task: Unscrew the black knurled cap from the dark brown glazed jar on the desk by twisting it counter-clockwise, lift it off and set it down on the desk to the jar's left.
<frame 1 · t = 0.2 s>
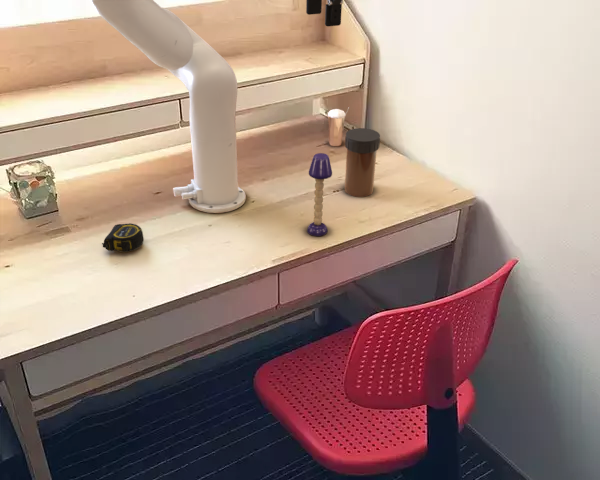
hand: (323, 19, 137), 37 cm above the table, tool pointing down, fingers open, 9 cm apart
milkshake: (336, 144, 178), on the table
cap: (362, 136, 149), point 13 cm above the table, screwed on, not yet turned
tape measure: (123, 247, 135), on the table
toy lamp: (318, 231, 141), on the table
jar: (358, 190, 157), on the table
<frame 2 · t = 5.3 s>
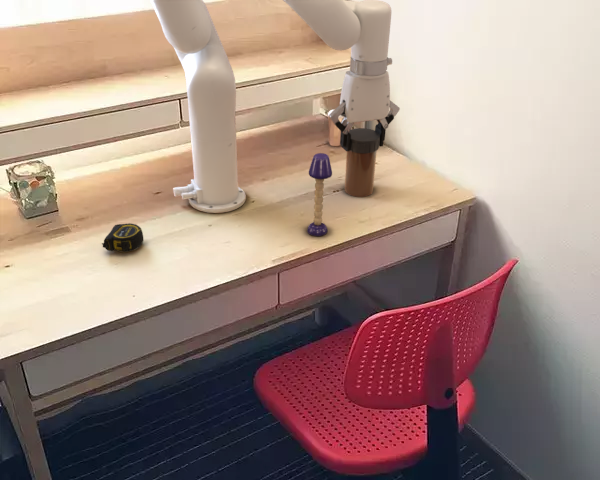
hand: (362, 146, 150), 11 cm above the table, tool pointing down, fingers closed on cap, 7 cm apart
cap: (362, 136, 149), point 13 cm above the table, screwed on, not yet turned, touching gripper
everything else where it was.
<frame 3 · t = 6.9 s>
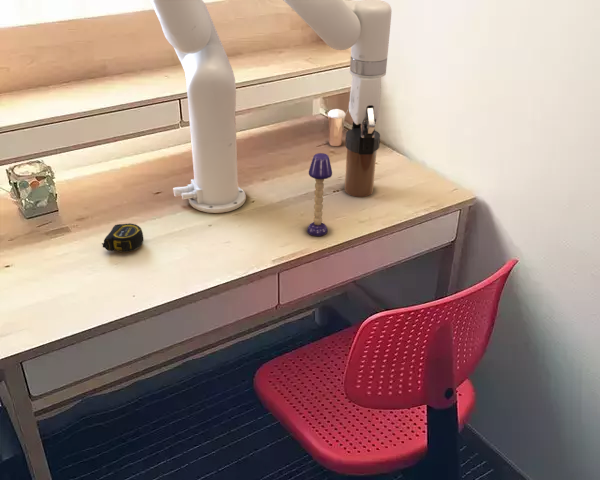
hand: (362, 145, 150), 11 cm above the table, tool pointing down, fingers closed on cap, 7 cm apart
cap: (362, 136, 149), point 13 cm above the table, turned 75° so far, risen 0.1 cm, still on its thread, touching gripper
everything else where it was.
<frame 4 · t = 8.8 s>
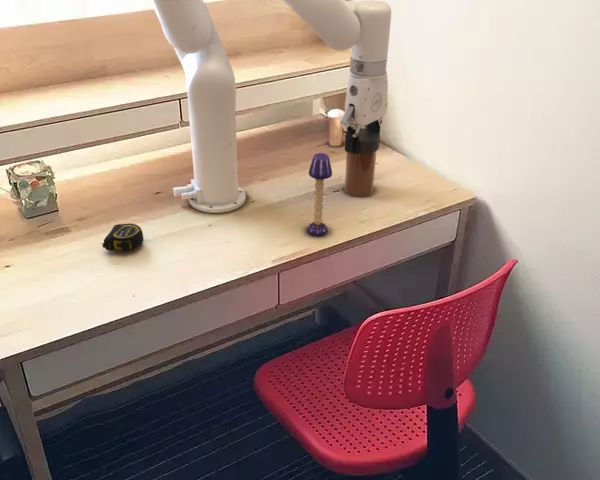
hand: (361, 146, 150), 11 cm above the table, tool pointing down, fingers closed on cap, 7 cm apart
cap: (362, 136, 149), point 13 cm above the table, off its thread, touching gripper
everything else where it was.
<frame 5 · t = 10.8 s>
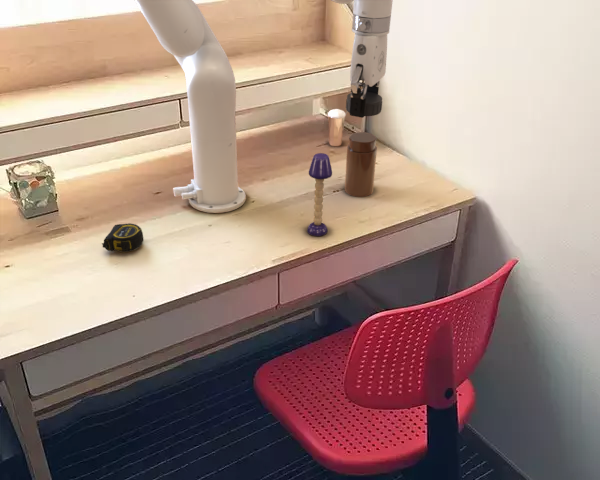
hand: (363, 109, 145), 19 cm above the table, tool pointing down, fingers closed on cap, 7 cm apart
cap: (364, 99, 144), point 21 cm above the table, off its thread, touching gripper
everything else where it was.
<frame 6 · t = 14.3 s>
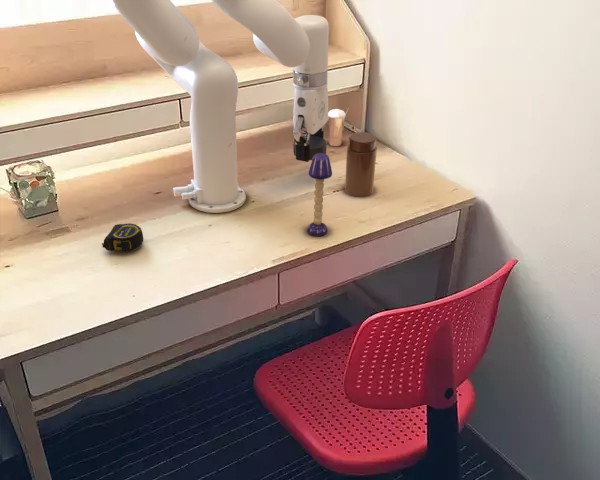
hand: (309, 153, 157), 7 cm above the table, tool pointing down, fingers closed on cap, 7 cm apart
cap: (309, 144, 156), point 9 cm above the table, off its thread, touching gripper
everything else where it was.
when the fingers open (0 cm above the table, at t = 16.6 s): cap stays where it is, point 3 cm above the table.
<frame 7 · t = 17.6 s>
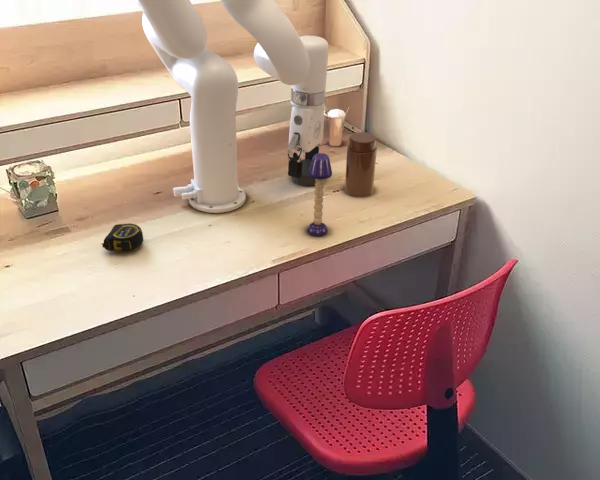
hand: (303, 169, 159), 3 cm above the table, tool pointing down, fingers open, 9 cm apart
cap: (307, 169, 159), point 3 cm above the table, tilted 7°, off its thread
everything else where it was.
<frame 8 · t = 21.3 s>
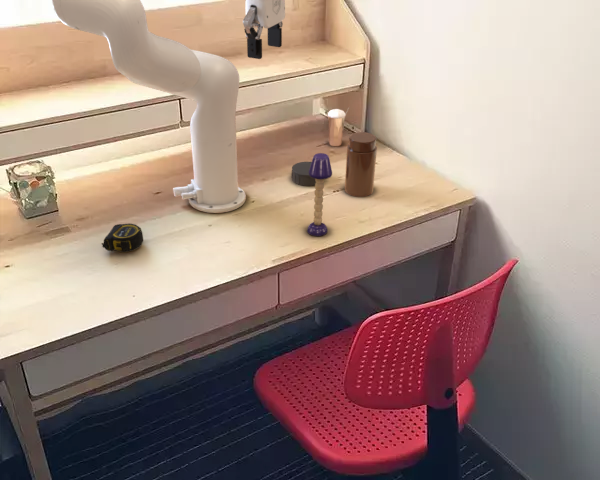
hand: (265, 51, 147), 28 cm above the table, tool pointing down, fingers open, 9 cm apart
cap: (307, 170, 160), point 2 cm above the table, off its thread
everything else where it was.
at the end: cap inside the target area (0.2 cm from its centre), point 2.3 cm above the table; the gripper is holding nothing; jar tilted 0° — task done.
